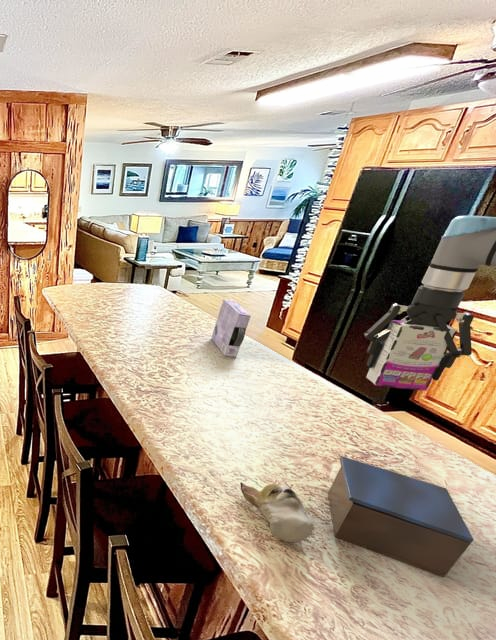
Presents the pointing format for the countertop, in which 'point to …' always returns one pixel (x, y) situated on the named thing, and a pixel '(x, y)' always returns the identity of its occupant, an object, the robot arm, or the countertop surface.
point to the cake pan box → (230, 328)
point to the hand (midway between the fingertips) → (400, 371)
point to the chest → (392, 534)
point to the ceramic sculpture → (280, 511)
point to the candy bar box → (409, 356)
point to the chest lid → (403, 498)
